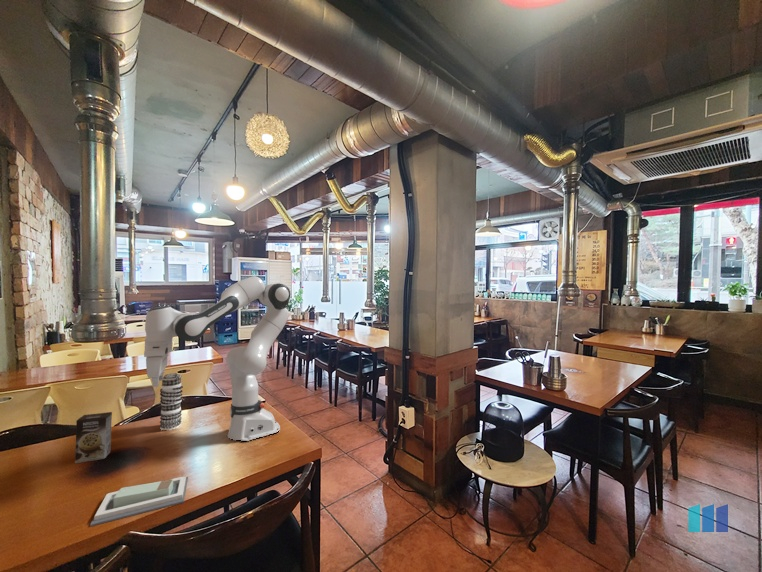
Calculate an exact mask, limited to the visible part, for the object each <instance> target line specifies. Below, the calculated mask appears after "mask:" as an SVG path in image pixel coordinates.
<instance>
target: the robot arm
mask: <svg viewBox="0 0 762 572" xmlns="http://www.w3.org/2000/svg"><path fill="white" fill-rule="evenodd" d="M255 300H256V301H257V303H259V304H260V305H262V306H264V307H267V308H266V312H265V314H264V315H263V316H262V317H261V319H260V320H259V321H258V323H257V324H256V325H255V327H254V329H253V330H252V331H251V333H250V339H249V341H248V343H247V345H246V346H241V345H240V346H236V347H232V348H231V349H229V351H228V352H227V354H226V357H225V358H226V359H225V360H226V362H227V365H228V371H229V376H230V381H231V382H230V383H231V404H230V413H229V414H230V423H229V428H228V432H227V439H229V438H230V439H229V440H231V439H233V440H232V441H236V440H241V441H249V440H252V439H256V438H259V437H263V436H266V435H269V434H273V433H276V432H278V431H279V430H280V431H281V425H280V424H279V422H278V421H276V419H275V416H274V414H273V413H272V412H271V411H268V409H266V408H265V403H264V402H263V401H262V400H261V399H259V382H258V381H257V378H256V375H259V374H260V375H261V373H263V372H264V371H265V369H266V368H267V365H268V364H267V363H268V362H267V358H268V355H269V352H270V350H271V348H272V345H273V344H274V342H275V340H276V339H277V337H278V336H279V334H280V333H281V332H282V330H283V328H284V327H285V325H287V324H286V323H287V322H288V319H289V317H290V312H289V310H288V308H287V307H288V306H289V301H290V300H291V290H290V288H289V287H288V286H287V285H286V284H283V283H280V282H278V283H269V284H266V283H264V281H263V280H262V278H260V277H259V276H255V275H253V276H250V277H249V276H248V277H246V278H243V279H241V280H239V281H237V282H235V283H233V284H231V285H230V286H228V287H227V288H226V289H224V290H223V291H222V292H221V295H220V299H219V301H218V302H216V303H215V304H213V305H212V306H209V307H208V308H207V309H205V310H203V311H201V312H200V313H195V314H189V313H186V312H182V311H179V310H177V309H176V308H173V307H172V306H170V305H169V306H168V305H164V306H162V305H161V306H158V307H153V308H150V309H149V310H148V311H147V312H146V315H145V323H144V331H145V339H144V350H143V351H144V352H143V356H144V358H145V366H146V368H145V369H146V375H147V377H148V378H149V379H151V382H152V383H151V384H152V388H158V387H159V385H160V381H161V382H162V380H163V377H164V374H165V372H164V371H165V369H166V367H167V366H168V357H169V353H172V352H173V338H174V337H178V338H179V339H180V340H182V341H184V342H194V341H196V340H199V339H201V338H202V337H203V336H204V335H205V333H206V332H207V330H208V329H209V328H210V327H211V326H212V325H215V324H217V322H219V321H220V320H222V319H223V318H225V317H226V316H228V315H229V314H231V313H233V312H236V311H237V310H239V309H241V308H243V307H245V306H247V305H248V304H250V303H252V302H253V301H255ZM275 422H276V423H275ZM277 429H278V430H277ZM280 431H279V432H280ZM263 438H264V437H263ZM256 440H257V439H256ZM241 441H240V442H241ZM252 441H253V440H252ZM249 442H250V441H249Z"/></svg>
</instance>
